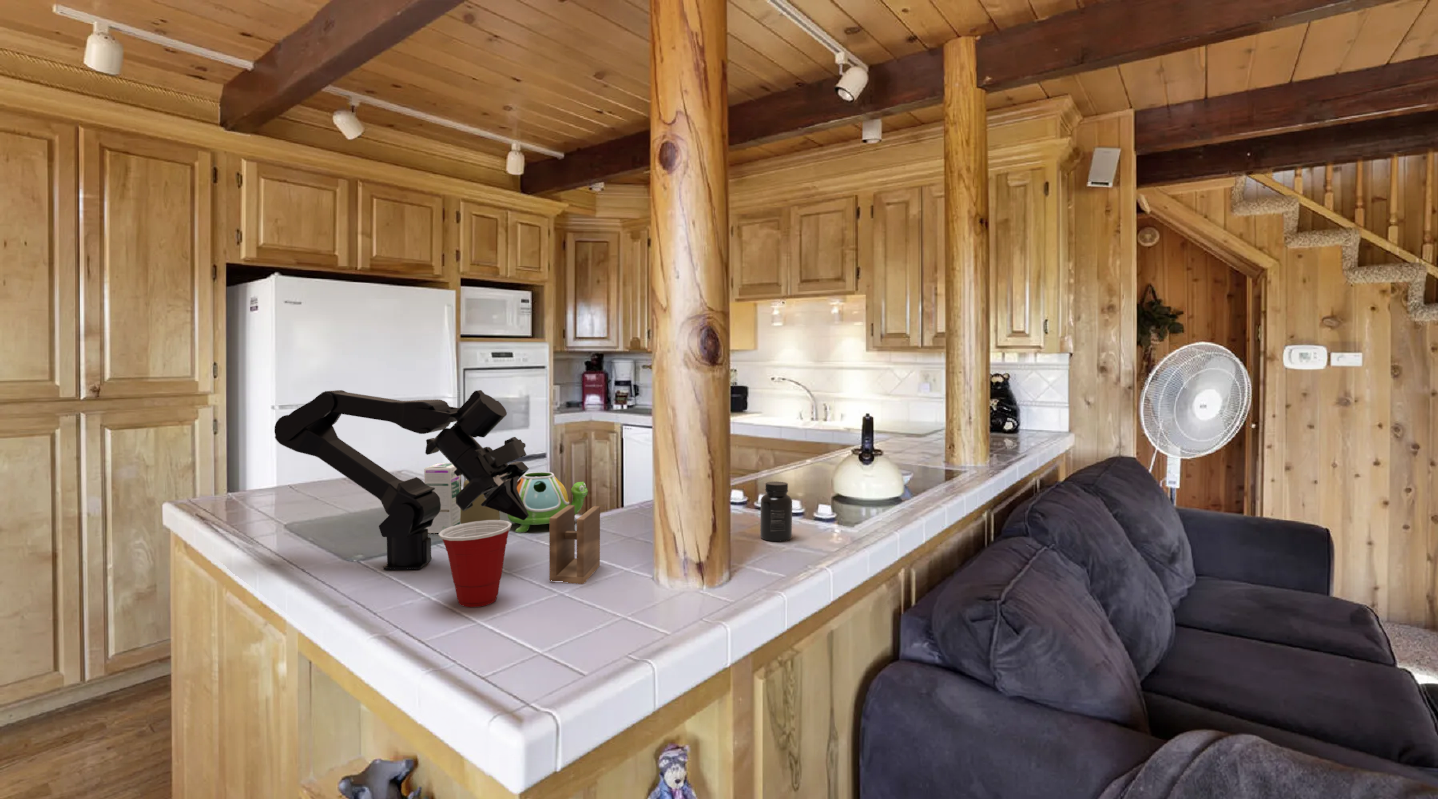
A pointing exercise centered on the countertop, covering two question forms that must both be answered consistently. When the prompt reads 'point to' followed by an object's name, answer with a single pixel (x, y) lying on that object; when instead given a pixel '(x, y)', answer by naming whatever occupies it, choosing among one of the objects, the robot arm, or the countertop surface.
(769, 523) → the supplement bottle
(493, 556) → the plastic cup
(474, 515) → the squeeze bottle
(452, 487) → the syrup box
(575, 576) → the wooden napkin holder
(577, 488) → the turtle holder
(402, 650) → the countertop surface
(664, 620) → the countertop surface
